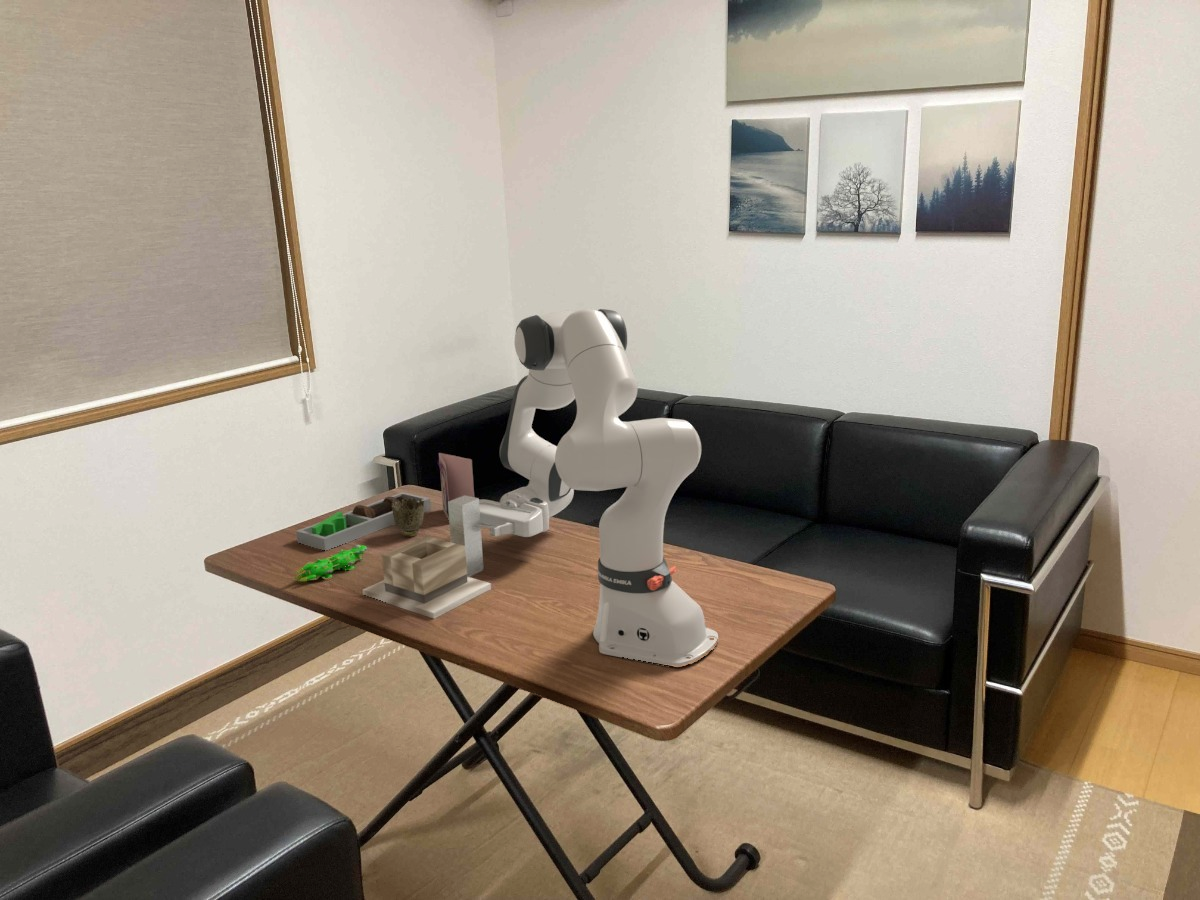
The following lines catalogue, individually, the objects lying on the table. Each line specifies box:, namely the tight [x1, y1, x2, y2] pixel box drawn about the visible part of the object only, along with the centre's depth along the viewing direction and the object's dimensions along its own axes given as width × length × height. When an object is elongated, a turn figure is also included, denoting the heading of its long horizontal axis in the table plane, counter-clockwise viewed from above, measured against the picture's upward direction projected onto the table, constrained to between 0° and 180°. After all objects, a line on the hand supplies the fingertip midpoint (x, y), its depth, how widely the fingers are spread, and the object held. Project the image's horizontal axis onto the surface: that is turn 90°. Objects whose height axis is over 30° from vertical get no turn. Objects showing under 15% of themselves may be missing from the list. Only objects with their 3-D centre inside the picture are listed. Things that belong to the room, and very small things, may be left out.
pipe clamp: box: [312, 511, 347, 537], centre depth 219 cm, size 11×4×5 cm, turn 163°
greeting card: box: [436, 452, 475, 520], centre depth 230 cm, size 11×7×15 cm, turn 18°
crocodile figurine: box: [293, 544, 368, 582], centre depth 200 cm, size 7×18×4 cm, turn 142°
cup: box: [391, 498, 425, 538], centre depth 219 cm, size 8×7×8 cm
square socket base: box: [362, 535, 492, 620], centre depth 187 cm, size 20×16×9 cm
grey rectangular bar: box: [448, 495, 485, 578], centre depth 195 cm, size 4×5×16 cm
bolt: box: [352, 496, 407, 519], centre depth 232 cm, size 6×5×15 cm
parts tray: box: [295, 491, 432, 552], centre depth 227 cm, size 10×33×3 cm, turn 144°
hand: (475, 528), depth 197 cm, fingers open, 8 cm apart
